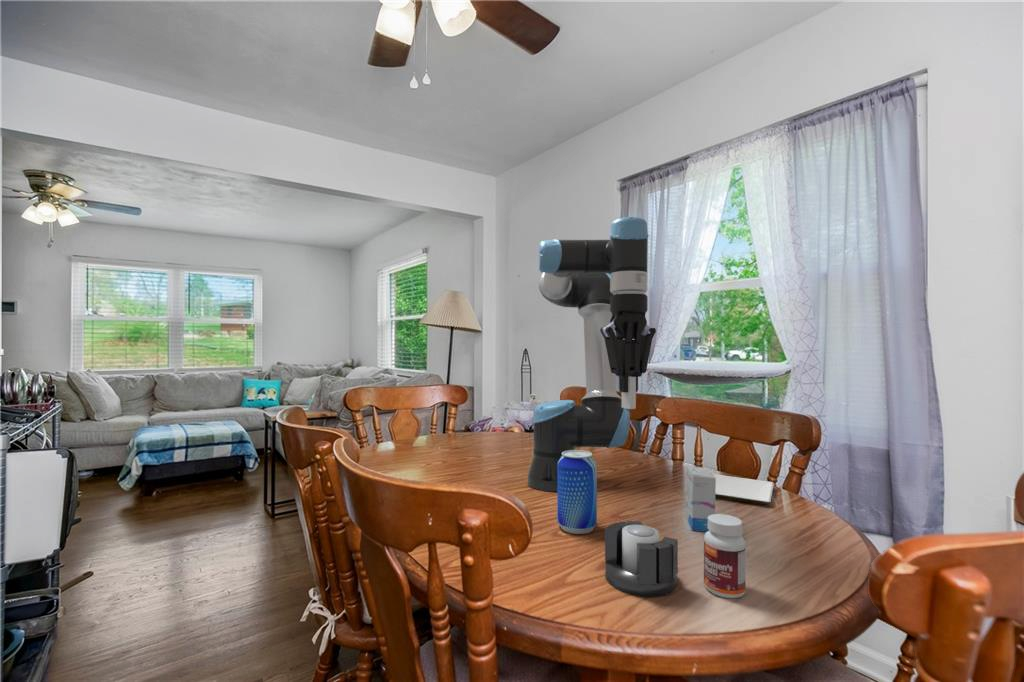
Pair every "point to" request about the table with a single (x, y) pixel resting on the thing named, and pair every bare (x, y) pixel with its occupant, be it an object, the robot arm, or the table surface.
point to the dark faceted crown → (641, 564)
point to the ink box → (699, 497)
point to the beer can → (577, 492)
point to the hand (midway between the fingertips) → (628, 408)
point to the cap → (635, 544)
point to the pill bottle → (724, 556)
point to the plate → (743, 489)
